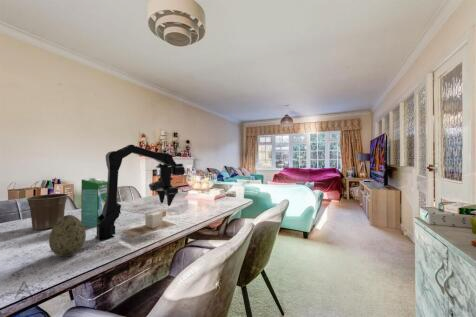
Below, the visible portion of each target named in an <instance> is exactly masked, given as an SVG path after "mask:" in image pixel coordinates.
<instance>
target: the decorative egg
mask: <svg viewBox="0 0 476 317" xmlns="http://www.w3.org/2000/svg"><path fill="white" fill-rule="evenodd" d="M86 237H87V234H86V229H85V226H83V224H82V222H81V219H79V218H78V217H76V216H75V215H72V214H66V215H64V217H62V218H61V219H60V220H58V222H57V223H56V224H55V225H54V227H53V228H51V231H50V234H49V238H48V244H49V248H50V250H51V252H52V253H53V254H54V255H57V256H60V257H69V256H72V255H74V254H76V253H78V252H79V251H80V249H82V247H83V246H84V244H85V242H86Z"/></svg>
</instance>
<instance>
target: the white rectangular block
mask: <svg viewBox="0 0 476 317" xmlns="http://www.w3.org/2000/svg"><path fill="white" fill-rule="evenodd" d="M166 216H167V211H166V210H161V211H155V210H154V211H151V212H147V213H145V217H144V218H145V219H144V220H145V221H144V222H145V223H144V225H145V226H147V227H150V228H155V227H158V226H161V225H162V220H163V218H164V217H166Z"/></svg>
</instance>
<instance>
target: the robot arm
mask: <svg viewBox="0 0 476 317" xmlns="http://www.w3.org/2000/svg"><path fill="white" fill-rule="evenodd" d="M131 154H134V155H138V156H141V157H145V158H148V159H153V160H154V161H156V162H158V164H157V165H156V167H155V168H156V169H159V177H158V178H157V181H156V180H155V181H154V182H150V183H149V184H148V187H149V189H150V191H153V192H155V193H156V194H158V198H159V201H160V204H163V203H164V200H165V197H166V201H167V202H166V204H167V206H168V207H170V206H171V205H172V203H173V201H174V199H175V197H176V195H177V194H178V193H179V188H178V187H176V186H173V185H172V180H173V177H172V176H174V177H176V176H183V175H185V172H186V169H185V166H184V164H183V163H177V162H176V161H175V159H174V158H173V155H172V153H169V152H157V151H154V150H150V149H148V148H145V147H140V146H136V145H135V144H128V145H126V146H124V147H122V148H120V149H117V150H113V151H111V150H110V151H108V152H107V153H106V155H105V164H106V167H107V181H106V182H107V197H106V202H105V204H104V207H103V211H102V214H101V215H100V216H99V217H98V218H97V219H96V220H97V222H98V223H99V224H98V225H97V227H96V235H95V237H94V238H95V239H96V240H97V241H99V242H102V241H105V240H108V239H112V238H115V237H116V236H114V235H116V225H115V223H116V220H118V218H119V217H120V215H122V212H121V209H122V204H120V203H118V201H117V200H118V186H119V185H118V183H119V180H118V179H119V170H120V169H121V165H122V162H123V159H124V158H126V157H128V156H129V155H131Z"/></svg>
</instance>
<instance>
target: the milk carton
mask: <svg viewBox="0 0 476 317" xmlns="http://www.w3.org/2000/svg"><path fill="white" fill-rule="evenodd" d="M80 192H81V199H80V200H81V202H80V203H81V206H80V207H81V210H80V212H81V216H80V218H81V219H80V221H81V222H82V224H83V226H84V227H96V228H97V225H98V224H99V223H98V222H97V220H96V219H97V218H98V217H99V216H100V215H101V214H102V211H103V207H104V204H105V202H106V197H107V181H105V180H104V179H102V178H95V177H90V178H84V179H81V191H80Z"/></svg>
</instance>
